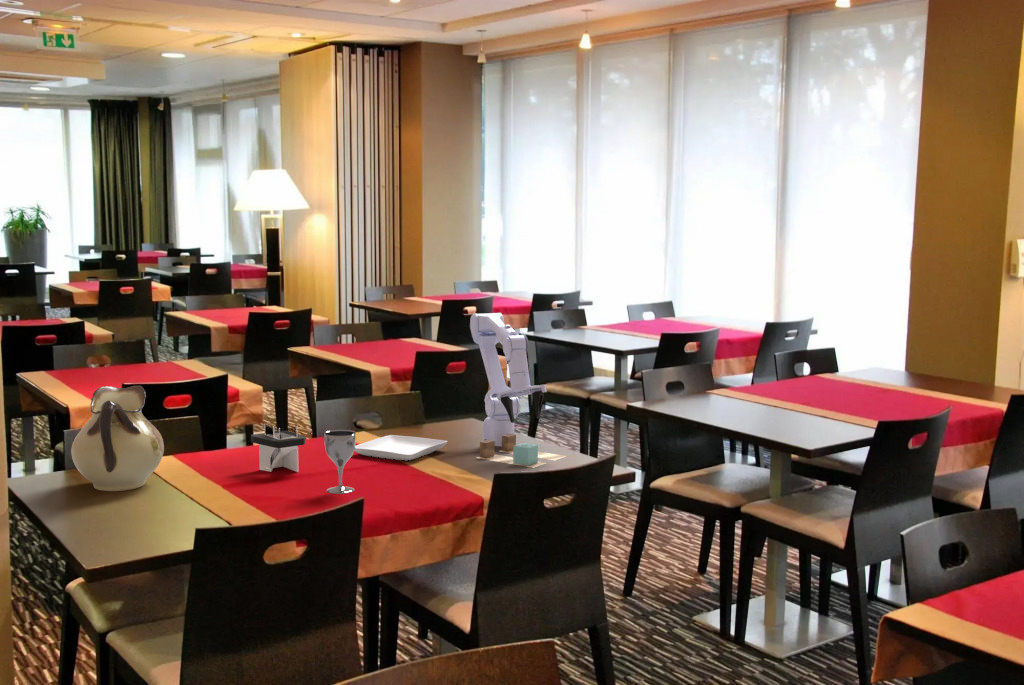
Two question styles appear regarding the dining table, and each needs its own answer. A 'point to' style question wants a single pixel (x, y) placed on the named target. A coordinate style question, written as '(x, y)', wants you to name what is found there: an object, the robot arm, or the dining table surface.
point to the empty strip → (543, 455)
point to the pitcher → (117, 441)
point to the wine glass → (340, 453)
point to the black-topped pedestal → (278, 448)
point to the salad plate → (399, 447)
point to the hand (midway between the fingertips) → (525, 420)
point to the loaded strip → (488, 454)
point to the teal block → (525, 454)
